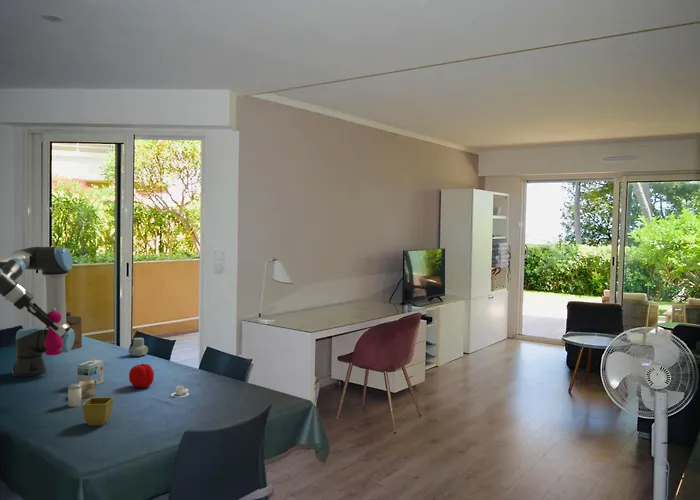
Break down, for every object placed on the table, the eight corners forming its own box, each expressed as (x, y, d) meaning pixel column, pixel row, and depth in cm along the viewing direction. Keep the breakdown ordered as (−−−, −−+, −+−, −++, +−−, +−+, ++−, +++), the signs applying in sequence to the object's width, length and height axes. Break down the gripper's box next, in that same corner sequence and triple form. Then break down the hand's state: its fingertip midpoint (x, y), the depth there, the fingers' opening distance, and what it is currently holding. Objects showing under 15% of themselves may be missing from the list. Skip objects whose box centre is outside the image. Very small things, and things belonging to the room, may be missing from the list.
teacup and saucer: (185, 391, 260) (185, 382, 260) (193, 395, 254) (194, 386, 254) (167, 395, 254) (167, 386, 254) (175, 399, 248) (176, 390, 248)
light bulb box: (89, 388, 261) (89, 365, 260) (77, 387, 262) (77, 364, 261) (104, 382, 271) (104, 360, 271) (91, 381, 272) (91, 359, 272)
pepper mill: (66, 352, 245) (67, 307, 244) (53, 356, 238) (53, 309, 237) (54, 351, 247) (54, 306, 247) (40, 354, 241) (40, 308, 240)
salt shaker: (72, 402, 239) (72, 383, 239) (84, 403, 239) (84, 383, 239) (65, 406, 234) (65, 386, 233) (77, 407, 234) (77, 387, 233)
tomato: (145, 391, 258) (145, 367, 257) (123, 389, 260) (123, 365, 260) (159, 384, 270) (159, 361, 269) (138, 382, 272) (138, 359, 271)
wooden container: (49, 349, 339) (49, 313, 338) (65, 344, 353) (65, 309, 352) (71, 350, 336) (71, 314, 335) (86, 345, 351) (86, 310, 350)
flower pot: (90, 419, 219) (90, 397, 218) (113, 419, 220) (113, 397, 219) (81, 428, 210) (81, 404, 210) (105, 427, 211) (105, 404, 210)
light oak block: (79, 398, 246) (79, 384, 246) (78, 394, 251) (79, 381, 251) (94, 396, 249) (94, 383, 248) (93, 392, 254) (93, 379, 254)
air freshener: (136, 353, 333) (136, 336, 333) (149, 353, 332) (149, 337, 332) (126, 357, 323) (126, 340, 322) (140, 357, 321) (140, 340, 321)
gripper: (13, 301, 243) (56, 335, 251) (11, 306, 227) (56, 343, 235) (27, 288, 245) (69, 323, 253) (26, 293, 229) (70, 330, 237)
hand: (63, 333), depth 244 cm, fingers closed on pepper mill, 5 cm apart
